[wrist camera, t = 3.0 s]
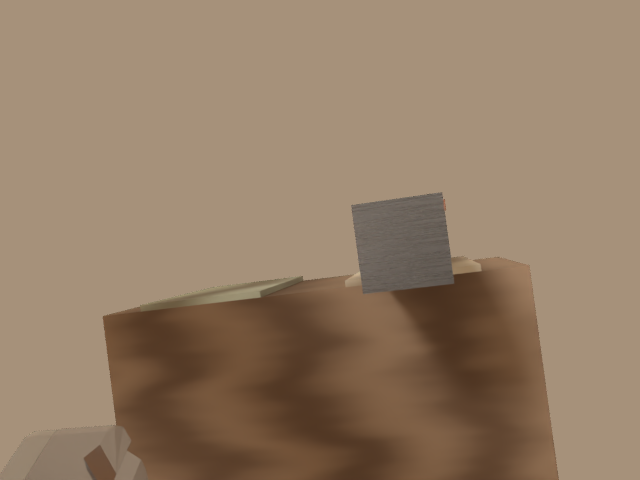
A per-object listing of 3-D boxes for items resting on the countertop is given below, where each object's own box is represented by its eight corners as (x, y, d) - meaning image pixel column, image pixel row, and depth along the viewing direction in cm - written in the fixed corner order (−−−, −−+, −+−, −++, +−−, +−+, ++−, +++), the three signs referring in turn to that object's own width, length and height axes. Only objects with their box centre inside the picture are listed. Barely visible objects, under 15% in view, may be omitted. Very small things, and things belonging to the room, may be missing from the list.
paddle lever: (337, 297, 18) (323, 190, 18) (379, 265, 38) (373, 213, 38) (481, 280, 18) (466, 168, 18) (448, 256, 37) (441, 204, 37)
